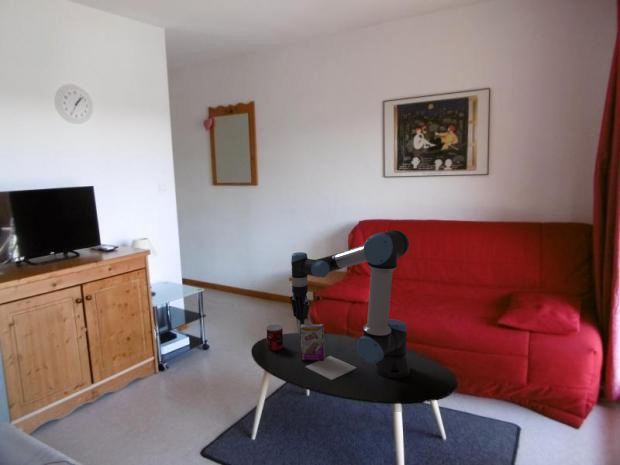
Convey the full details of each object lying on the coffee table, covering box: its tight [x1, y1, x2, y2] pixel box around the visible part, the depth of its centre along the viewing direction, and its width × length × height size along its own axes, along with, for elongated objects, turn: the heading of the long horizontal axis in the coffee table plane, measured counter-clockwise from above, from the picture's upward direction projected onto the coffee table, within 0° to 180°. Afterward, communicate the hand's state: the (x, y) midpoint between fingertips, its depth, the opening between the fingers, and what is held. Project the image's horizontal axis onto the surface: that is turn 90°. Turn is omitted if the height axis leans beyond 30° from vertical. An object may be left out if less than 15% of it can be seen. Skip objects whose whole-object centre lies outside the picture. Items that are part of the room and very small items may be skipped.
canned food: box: [266, 324, 284, 352], centre depth 221 cm, size 8×8×11 cm
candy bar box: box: [299, 323, 326, 361], centre depth 207 cm, size 11×5×16 cm, turn 84°
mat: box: [304, 355, 357, 381], centre depth 199 cm, size 17×16×1 cm
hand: (300, 331), depth 213 cm, fingers closed
